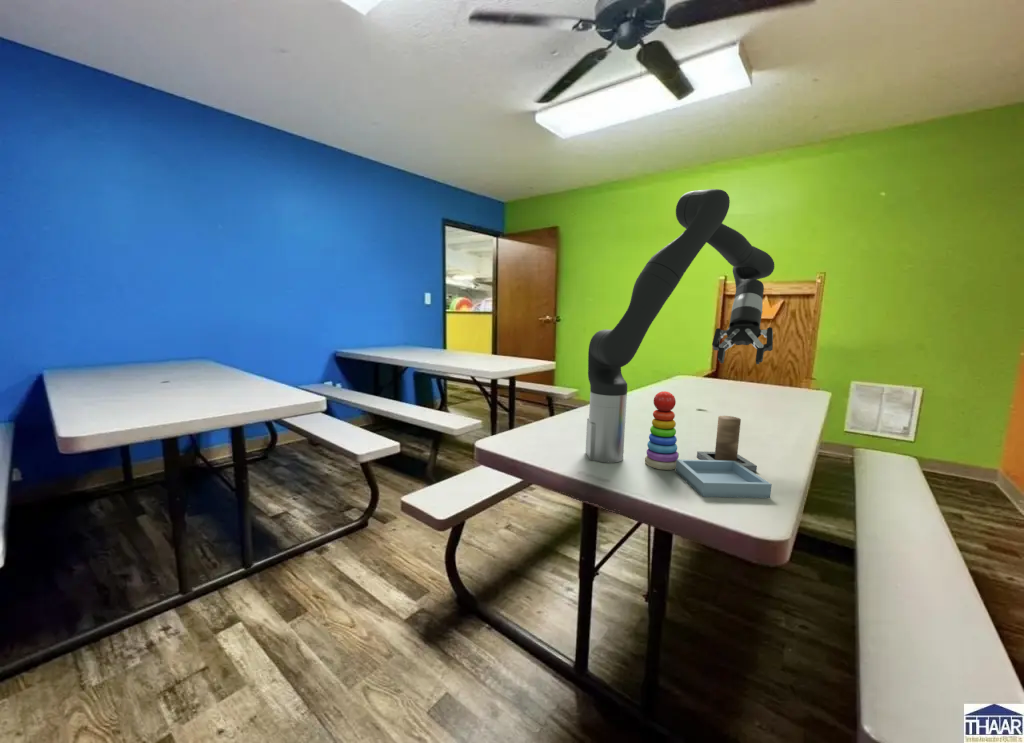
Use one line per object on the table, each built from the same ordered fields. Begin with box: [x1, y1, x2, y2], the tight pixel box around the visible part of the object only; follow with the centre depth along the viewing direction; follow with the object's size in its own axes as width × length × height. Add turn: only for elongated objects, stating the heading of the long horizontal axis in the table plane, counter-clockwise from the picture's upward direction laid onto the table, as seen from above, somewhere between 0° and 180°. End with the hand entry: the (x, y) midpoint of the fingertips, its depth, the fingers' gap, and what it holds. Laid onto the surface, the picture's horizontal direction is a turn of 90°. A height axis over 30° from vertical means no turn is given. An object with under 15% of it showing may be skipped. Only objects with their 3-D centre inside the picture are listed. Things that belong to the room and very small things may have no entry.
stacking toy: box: [644, 391, 680, 471], centre depth 101 cm, size 8×8×19 cm
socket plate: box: [696, 451, 758, 473], centre depth 104 cm, size 10×10×2 cm
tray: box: [675, 458, 772, 499], centre depth 91 cm, size 14×14×3 cm
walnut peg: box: [714, 415, 742, 462], centre depth 103 cm, size 5×5×12 cm
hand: (739, 362), depth 109 cm, fingers open, 8 cm apart
